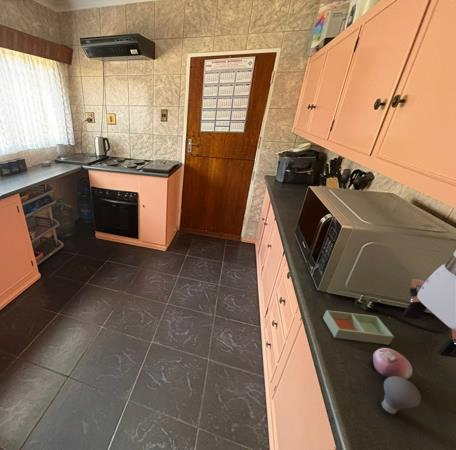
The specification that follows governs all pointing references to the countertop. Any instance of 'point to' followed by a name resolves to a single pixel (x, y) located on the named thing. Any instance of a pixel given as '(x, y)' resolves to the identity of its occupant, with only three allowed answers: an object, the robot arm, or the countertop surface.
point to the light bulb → (400, 394)
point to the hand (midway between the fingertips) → (427, 334)
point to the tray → (357, 327)
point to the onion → (391, 363)
